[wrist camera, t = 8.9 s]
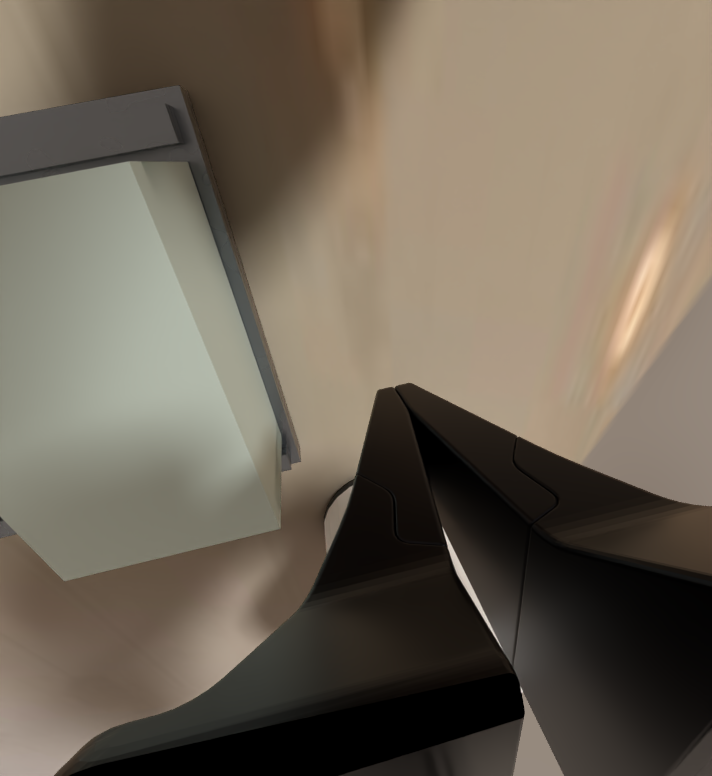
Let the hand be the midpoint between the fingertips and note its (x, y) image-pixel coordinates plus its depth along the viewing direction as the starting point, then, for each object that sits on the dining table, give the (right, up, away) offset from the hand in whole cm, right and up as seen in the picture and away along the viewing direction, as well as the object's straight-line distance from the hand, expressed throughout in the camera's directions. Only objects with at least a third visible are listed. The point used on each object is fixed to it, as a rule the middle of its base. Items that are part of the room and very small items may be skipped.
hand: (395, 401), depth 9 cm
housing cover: (-10, +2, +6) cm, 12 cm away
